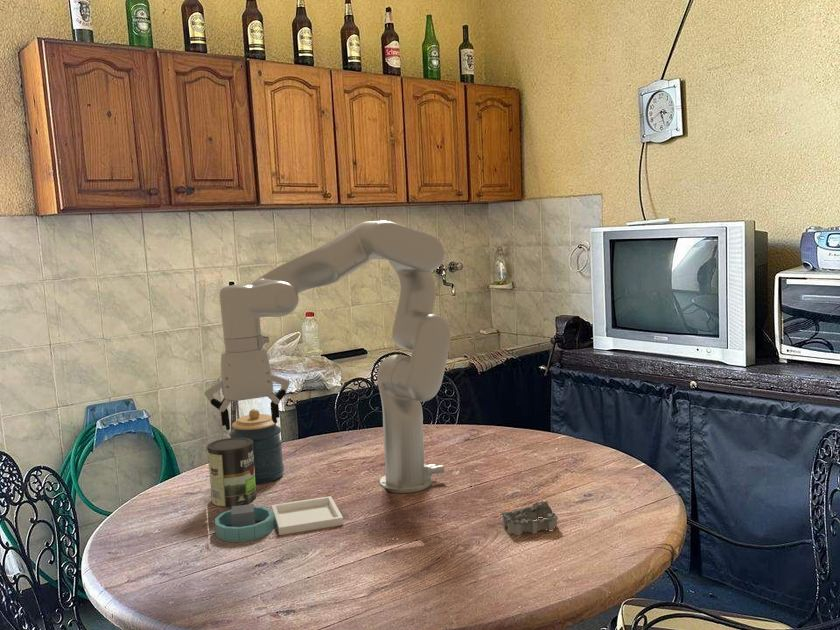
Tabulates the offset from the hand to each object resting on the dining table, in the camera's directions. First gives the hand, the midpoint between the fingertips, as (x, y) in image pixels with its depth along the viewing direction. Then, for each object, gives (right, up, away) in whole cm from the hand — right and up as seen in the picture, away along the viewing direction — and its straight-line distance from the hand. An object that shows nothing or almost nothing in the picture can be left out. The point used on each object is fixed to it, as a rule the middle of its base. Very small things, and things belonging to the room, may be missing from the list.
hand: (251, 424), depth 152 cm
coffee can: (-8, -21, +16) cm, 27 cm away
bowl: (-1, -22, -1) cm, 22 cm away
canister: (-6, -19, +34) cm, 39 cm away
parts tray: (+11, -21, +4) cm, 24 cm away
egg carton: (+58, -21, -4) cm, 62 cm away
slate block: (-1, -22, -1) cm, 22 cm away
